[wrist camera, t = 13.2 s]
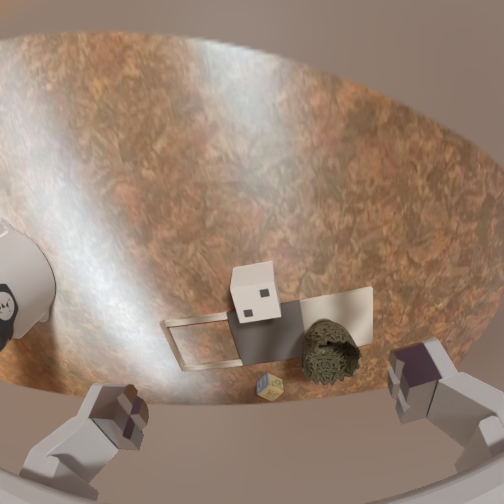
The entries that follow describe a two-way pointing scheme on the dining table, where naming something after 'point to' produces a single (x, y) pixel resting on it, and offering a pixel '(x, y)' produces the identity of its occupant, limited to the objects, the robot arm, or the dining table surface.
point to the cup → (329, 353)
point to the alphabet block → (269, 387)
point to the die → (255, 292)
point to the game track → (285, 328)
